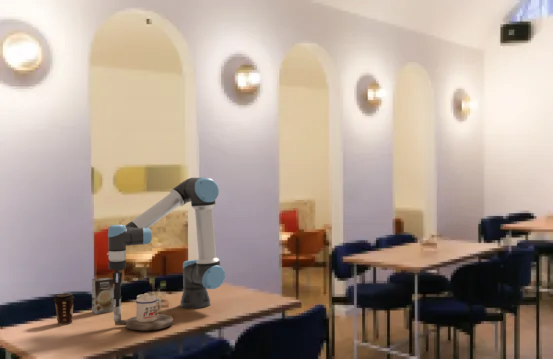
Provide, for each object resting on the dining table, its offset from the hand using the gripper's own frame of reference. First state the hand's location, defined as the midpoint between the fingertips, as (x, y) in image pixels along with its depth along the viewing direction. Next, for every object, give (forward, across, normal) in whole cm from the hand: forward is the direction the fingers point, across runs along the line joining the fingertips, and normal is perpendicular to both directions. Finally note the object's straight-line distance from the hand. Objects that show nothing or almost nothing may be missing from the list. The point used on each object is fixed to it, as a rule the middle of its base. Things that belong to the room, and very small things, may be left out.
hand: (117, 313), depth 266 cm
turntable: (+4, +6, +12) cm, 14 cm away
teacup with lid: (+3, +5, +14) cm, 15 cm away
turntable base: (+5, +5, +14) cm, 16 cm away
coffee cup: (+7, -13, -24) cm, 28 cm away
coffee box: (+7, -31, -8) cm, 33 cm away
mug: (+6, -15, +14) cm, 21 cm away
